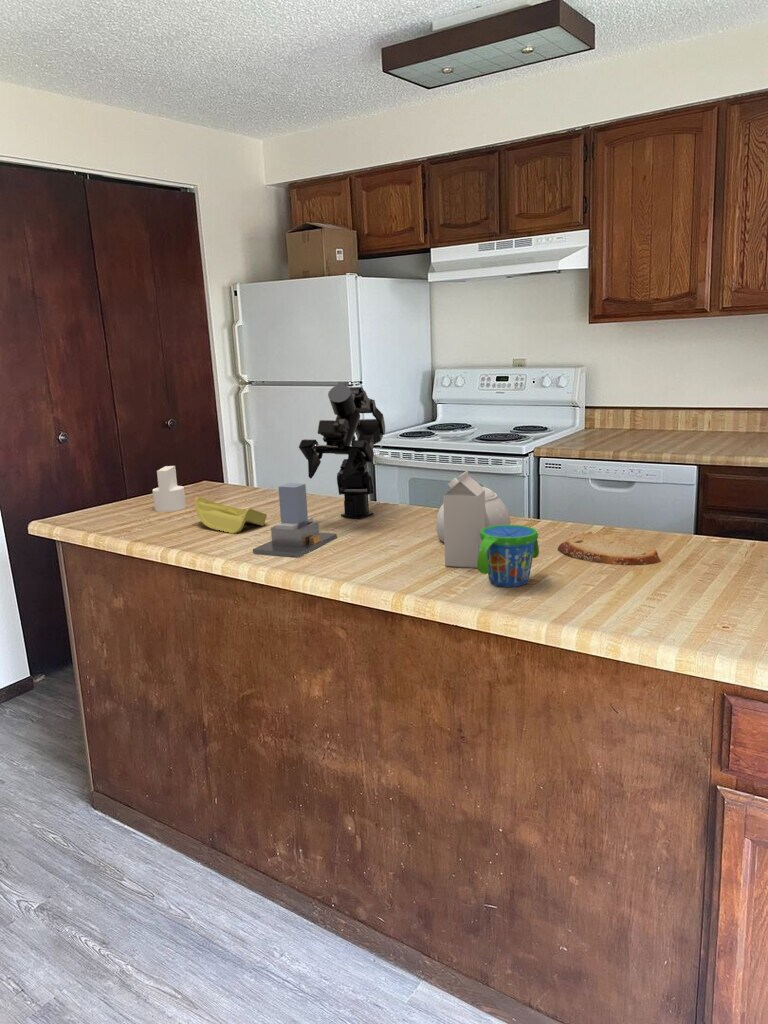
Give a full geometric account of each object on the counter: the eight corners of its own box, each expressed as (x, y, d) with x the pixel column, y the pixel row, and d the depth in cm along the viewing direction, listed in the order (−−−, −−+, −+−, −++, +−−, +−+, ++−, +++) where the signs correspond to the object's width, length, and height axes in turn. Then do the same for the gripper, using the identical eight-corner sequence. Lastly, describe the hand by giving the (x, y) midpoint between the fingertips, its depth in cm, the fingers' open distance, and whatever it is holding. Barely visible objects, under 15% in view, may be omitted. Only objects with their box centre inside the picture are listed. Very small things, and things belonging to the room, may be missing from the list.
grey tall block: (297, 534, 186) (293, 481, 183) (313, 536, 184) (310, 482, 181) (277, 544, 178) (273, 488, 175) (294, 545, 176) (290, 489, 174)
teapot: (529, 536, 181) (529, 478, 178) (482, 553, 168) (481, 492, 165) (465, 525, 194) (464, 471, 191) (417, 541, 181) (415, 483, 178)
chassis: (294, 534, 192) (292, 514, 191) (336, 537, 187) (335, 517, 186) (252, 553, 176) (251, 532, 175) (298, 557, 171) (297, 535, 170)
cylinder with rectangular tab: (181, 511, 226) (177, 470, 223) (150, 512, 226) (146, 471, 223) (189, 504, 234) (185, 465, 232) (159, 505, 235) (155, 466, 232)
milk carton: (486, 559, 164) (484, 470, 160) (478, 568, 157) (477, 476, 153) (453, 557, 166) (451, 469, 162) (444, 566, 160) (442, 475, 155)
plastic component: (270, 516, 204) (245, 506, 195) (262, 543, 203) (237, 534, 194) (218, 504, 214) (192, 494, 206) (210, 529, 214) (183, 521, 205)
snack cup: (518, 568, 156) (518, 519, 154) (558, 580, 148) (558, 528, 146) (459, 584, 148) (458, 532, 145) (498, 598, 139) (497, 543, 137)
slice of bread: (666, 565, 155) (667, 547, 155) (578, 570, 154) (578, 552, 154) (632, 542, 173) (632, 526, 172) (552, 547, 172) (552, 530, 171)
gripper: (299, 407, 195) (279, 457, 188) (366, 407, 187) (348, 459, 180) (317, 434, 204) (298, 483, 196) (381, 435, 196) (364, 486, 189)
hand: (326, 478), depth 190 cm, fingers open, 9 cm apart
